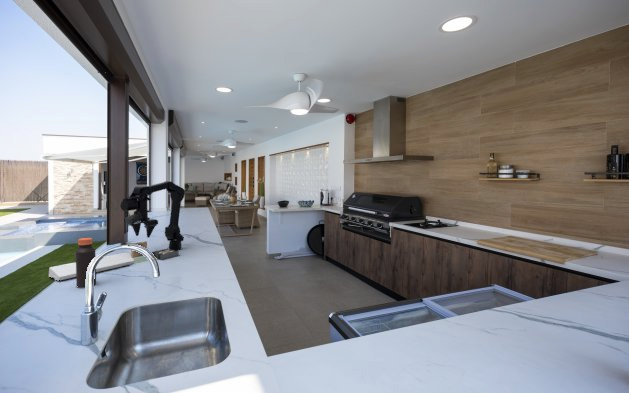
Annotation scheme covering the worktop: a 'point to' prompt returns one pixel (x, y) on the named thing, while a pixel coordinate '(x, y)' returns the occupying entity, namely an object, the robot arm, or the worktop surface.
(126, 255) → the decorative molding
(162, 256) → the offcut rack
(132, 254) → the walnut sheet
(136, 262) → the sage stand
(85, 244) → the bottle
